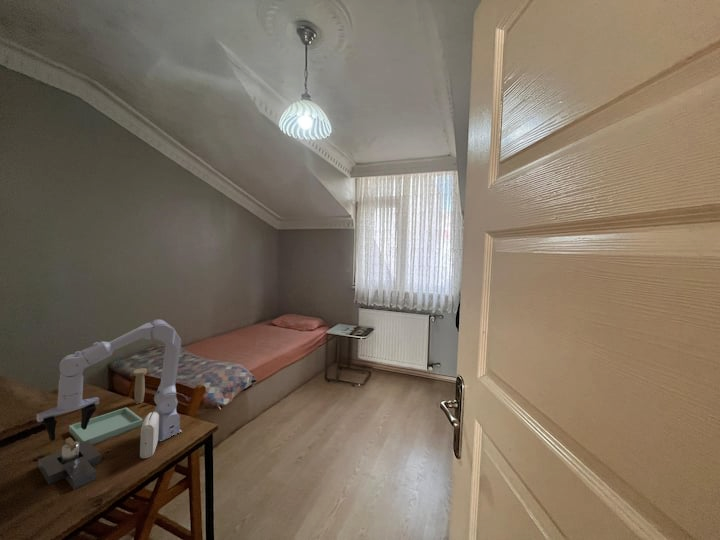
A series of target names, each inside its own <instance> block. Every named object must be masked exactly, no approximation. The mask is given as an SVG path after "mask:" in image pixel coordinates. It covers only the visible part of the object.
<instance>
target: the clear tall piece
mask: <svg viewBox="0 0 720 540" xmlns="http://www.w3.org/2000/svg"><path fill="white" fill-rule="evenodd" d="M73 439H74V438H72V437H70V436H69V437H67V438H65V441H64V442H65V444H64V445H62V447H61V451H62V462H61V465H63V464H65V463H68V462H70V461H73V460H75V459H78V458H79V442H78V441H76V440H75V441H74V440H73Z"/></svg>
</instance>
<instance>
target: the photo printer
mask: <svg viewBox="0 0 720 540" xmlns="http://www.w3.org/2000/svg"><path fill="white" fill-rule="evenodd" d="M158 433H159V414H158V413H157V412H154V411H150V412H149V413H147V415H146V416H145V417H144V419H143V423H142V426H141V427H140V440H139V441H140V443H139V457H140V459H148V458H150V457H152V456H154V453H155V452H156V449H157V445H158V442H159V441H158Z"/></svg>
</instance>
